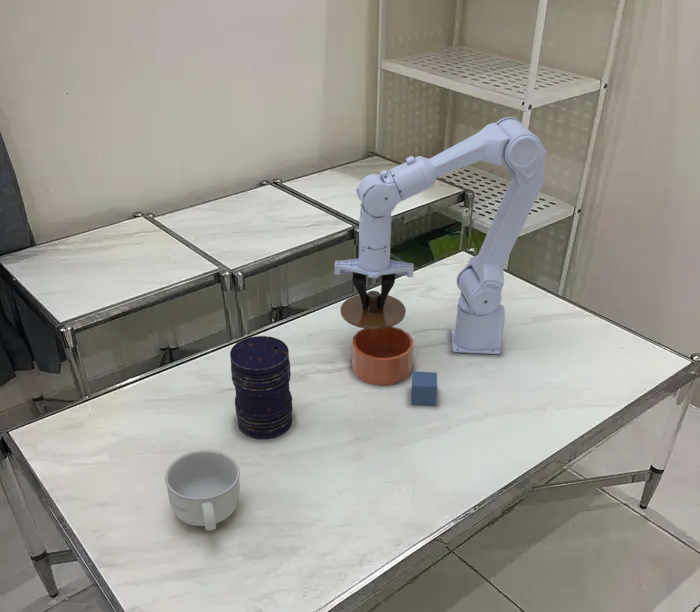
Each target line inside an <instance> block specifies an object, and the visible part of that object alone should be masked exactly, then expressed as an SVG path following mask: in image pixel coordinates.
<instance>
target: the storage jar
mask: <svg viewBox="0 0 700 612" xmlns="http://www.w3.org/2000/svg"><path fill="white" fill-rule="evenodd" d="M229 359H230V373H231V381H232V384H233V386H234V389H235V397H234V407H235V415H236V419H237V426H238V429H239V430H240V432H241V433H242V434H243V435H245V436H246V437H248V438H251V439H254V440H261V441H262V440H263V441H264V440H271V439H276V438H279V437H281V436H283V435H285V434H286V433H287V432H289V430H290V429H291V427H292V425H293V397H292V392H291V391H290V380H291V375H292V373H291V362H290V350H289V347H288V345H287V343H285V342H284V341H283V340H281V339H280V338H277V337H273V336H269V335H268V336H267V335H256V336H249V337H247V338H244V339H241V340H240V341H238V342H236V343H235V344H234V345H233V346H232V348H231V350H230V352H229Z"/></svg>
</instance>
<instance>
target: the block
mask: <svg viewBox="0 0 700 612" xmlns="http://www.w3.org/2000/svg"><path fill="white" fill-rule="evenodd" d="M411 377H412V378H411V388H410V389H411V393H410V394H411V397H410V401H411V404H410V405H413V406H429V407H432V406H433V407H435V406H436V403H437V394H438V373H437V372H435V371H416V370H414V371H412V376H411Z"/></svg>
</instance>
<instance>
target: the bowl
mask: <svg viewBox="0 0 700 612" xmlns="http://www.w3.org/2000/svg"><path fill="white" fill-rule="evenodd" d="M413 356H414V339H413V337H412V336H411V334H410V333H409V332H407V331H405V330H403V328H400V327H396V326H392V327H389V328H384V329H364V328H361V329H360V330H359V331H357V332H356V333H355V334H354V336H352V342H351V369H352V372H353V374H354V375H355V377H357V378H358V379H359V380H361V381H363V382H365V383H367V384H371V385H375V386H390V385H395V384H400V383H401V382H403V381H406V379H407V378H408V377H409V376H410V374H411V373H412V372H413V371H412V370H413V358H414V357H413Z"/></svg>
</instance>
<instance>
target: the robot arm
mask: <svg viewBox="0 0 700 612" xmlns="http://www.w3.org/2000/svg"><path fill="white" fill-rule="evenodd" d="M546 154H547V150H546V148H545V147H544V145H543V143H542V142H541V140H540V138H539V137H538V136H537V135H536V134H534V133H533V132H532V131H530V130H529V129H528V128H527V127H526V126H525V125H524V124H523V123H522V121H521V120H520V119H518V118H517V117H514V116H506V117H503V118H501V119H499V120H497V122H492V123H488V124H486V125H485V126H484V127H482V129H481V130H479V131H478V132H477V133H475V134H473V135H471V136H469V137H467V138H466V139H464V140H462V141H460V142H458V143H457V144H454V145H452V146H451V147H449V148H447V149H445V150H443V151H441V152H439V153H437V154H436V155H434V156H432V157H429V158H428V157H424V156H421V155H418V156H416V157H414V156H413V155H410V156H408V157H406V158H405V162H403V163H401V164H399V165H396V166H394V167H391V168H390V169H388V170H386V169H383V170H381V171H380V174H379V173H377V174H376V173H371V174H367V175H366V176H364V177H363V178H362V179H361V181H360V182H359V184H358V186H357V188H356V196H357V197H358V199H359V200H360V202H361V203H360V206H359V207H360V209H359V215H360V216H359V221H358V222H359V223H358V226H359V227H358V235H359V236H358V257H357V258H352V259H344V260H335V261H334V275H335V276H338V275H339V276H340V275H341V274H352V284H353V286H354V287H355V289H356V291H357V293H358V295H360V298H361V302H362V307H363V309H366V306H367V293H368V291H367V279H368V278H369V279H378V278H380V276H381V285H380V294H381V296H380V310H383V307H384V303H385V300H386V298H387V295H389V294H390V292H391V290H392V289H393V288H394V285H395V282H396V276H406V277H407V278H414V263H412V262H404V261H400V260H394V259H391V242H392V241H391V239H392V212H393V211H395V208H396V206H397V205H398V204H400V203H402V202H404V201H406V200H407V199H410V198H412V197H414V196H417V195H419V194H420V193H423V192H425V191H428V190H430V189H431V188H433V187H434V185H435V182H436V181H437V179H438V178H439V177H440V178H441V177H443V176H445V175H447V174H450V173H453V172H455V171H457V170H459V169H462V168H465V167H467V166H471V165H472V164H475V163H477V162H481V161H482V162H486V163H489V164H493V165H496V166H500V167H501V166H503V162H504V164H505V166H506V168H507V171H508V173H509V174H510V177H511V180H510V182H509V184H508V186H507V188H506V191H505V193H504V195H503V197H502V200H501V202H500V204H499V206H498V209H497V211H496V213H495V215H494V218H493V220H492V222H491V224H490V226H489V229H488V231H487V234H486V236H485V238H484V240H483V243H482V245H481V247H480V249H479V251H478V253H477V255H474V256H472V257H470V258H469V260H468V263H467V264H466V265H465V266H464V267H463V268H462V269H461V270H460V272H458V274H457V277H456V285H457V288H458V289H459V291H460V296H459V298H458V301H457V310H456V318H455V328H453V329H451V331H450V333H451V346H452V347H451V348H452V352H453V353H463V354H485V355H486V354H487V355H500V354H501V347H502V341H503V334H504V328H505V319H506V318H505V317H506V313H505V311H506V310H505V306H504V305H503V304H501V301H502V290H503V287H504V285H505V274H504V268H505V266H506V264H507V261H508V259H509V257H510V255H511V253H512V250H513V248H514V246H515V245H516V242H517V240H518V237H519V236H520V233H521V231H522V229H523V227H524V225H525V223H526V221H527V218H528V217H529V214H530V212H531V210H532V208H533V206H534V204H535V202H536V200H537V198H538V195H539V193H540V191H541V189H542V188H543V185H544V182H545V179H546V176H545V175H546V174H545V156H546Z"/></svg>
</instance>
